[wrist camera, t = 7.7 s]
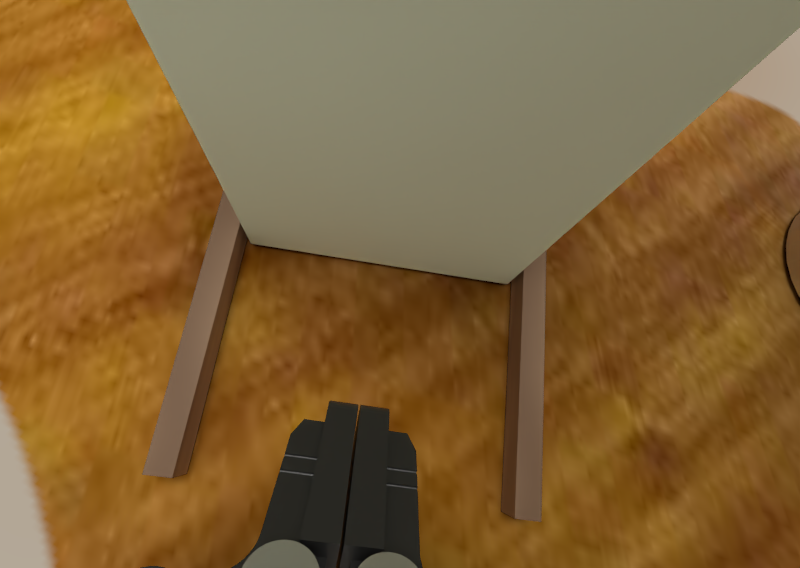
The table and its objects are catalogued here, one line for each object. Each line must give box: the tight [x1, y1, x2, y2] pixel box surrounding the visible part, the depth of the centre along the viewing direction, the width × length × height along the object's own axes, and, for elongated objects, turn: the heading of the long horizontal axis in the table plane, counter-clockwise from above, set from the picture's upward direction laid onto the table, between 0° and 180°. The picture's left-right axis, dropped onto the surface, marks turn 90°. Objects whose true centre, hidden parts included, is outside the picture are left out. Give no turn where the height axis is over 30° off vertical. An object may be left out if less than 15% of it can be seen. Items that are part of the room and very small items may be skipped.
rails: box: [142, 191, 546, 522], centre depth 19 cm, size 14×21×2 cm
